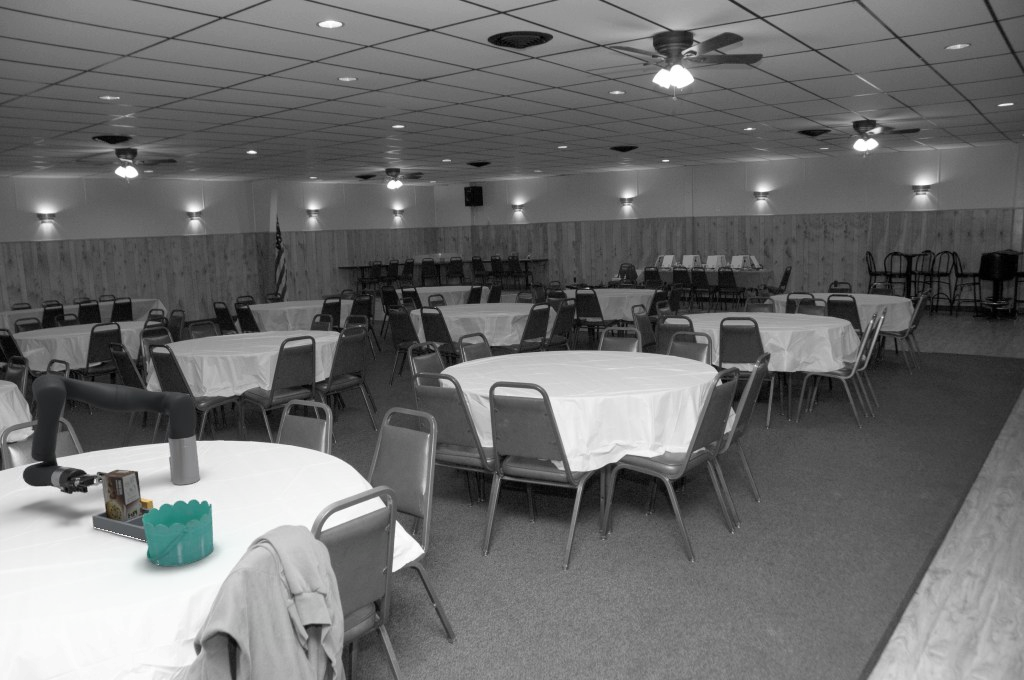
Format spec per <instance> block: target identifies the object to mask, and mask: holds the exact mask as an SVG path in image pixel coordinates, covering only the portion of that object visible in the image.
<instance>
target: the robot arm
mask: <svg viewBox="0 0 1024 680" xmlns="http://www.w3.org/2000/svg"><path fill="white" fill-rule="evenodd" d="M31 388H32V394H33V398H34V400H35V401H36V409H37V422H36V426H35V429H34V432H33V436H32V441H31V450H30V451H31V452H30V453H31V458H32V460H34V461H36V462H38V463H35V464H34V463H33V464H31V465H29V466H26V468H25V469H24V470H23V472H22V480H23V481H24V482H25V483H26V484H28V485H29V486H30V487H37V488H38V487H52V488H53V487H54V488H56V489H59V490H60V492H61V493H65V494H68V495H72V494H73V493H83V494H86V493H88V491H89V490H88V488H89V487H93V486H94V487H95V486H96V487H97V486H99V485H102V479H101V476H102V475H105V474H107V473H108V472H102V471H97V472H96V474H88V473H87V472H86V471H85V470H84V469H81V468H76V467H70V466H62V465H59V464H58V461H57V455H56V451H57V440H58V429H59V422H60V418H61V415H62V411H63V408H64V405H65V403H66V402H65V401H66V399H67V400H68V399H69V400H75V401H79V402H83V403H84V404H88V405H90V406H93V407H94V408H97V409H99V410H103V411H109V412H119V413H136V412H153V413H157V414H162V415H166V416H168V417H169V425H170V426H169V429H168V430H167V435H168V436H167V437H168V445H169V455H170V456H169V458H168V460H169V467H170V468H169V469H170V479H171V483H173V484H174V485H178V486H179V485H181V486H183V485H190V484H195V483H196V482H199V481H200V479H201V476H200V466H199V456H198V445H197V435H196V428H197V416H196V415H197V413H196V412H197V411H196V405H195V401H194V399H193V398H192V397H191V396H190V395H188V394H186V393H183V392H180V391H152V390H148V389H147V390H146V389H143V388H138V387H134V386H127V385H122V384H115V383H114V384H113V383H105V382H98V381H97V382H96V381H88V380H83V379H81V380H80V379H76V378H71V377H66V376H62V375H58V374H52V373H51V374H48V373H47V374H42V375H38V376H37V377H36V378H35V379H34V380H33V382H32V385H31Z"/></svg>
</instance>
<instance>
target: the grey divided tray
mask: <svg viewBox="0 0 1024 680" xmlns="http://www.w3.org/2000/svg"><path fill="white" fill-rule="evenodd" d="M141 503H142V512H143V515H144V514H145V513H146V514H148V515H149V511H150V510H151V509H152V508H154V502H153V500H152V499H148V498H143V497H141ZM169 504H170V503H169ZM170 505H171V506H173V505H174V504H170ZM143 515H142V516H139V517H136V518H134V519H131V520H128V521H126V522H121V521H117V520H113V519H109V518H107V516H106V510H105V511H103V512H99V513H97V514H94V515H92V516H91V517H92V519H91V520H92V523H93V524H92V526H93V528H94V527H96V528H100V529H104V530H108V531H112V532H115V533H119V534H123V535H127V536H131V537H134V538H138V539H141V540H145V541H147V539H146V536H145V530H144V527H143V521H142V519H143Z"/></svg>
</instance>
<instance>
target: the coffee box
mask: <svg viewBox="0 0 1024 680" xmlns="http://www.w3.org/2000/svg"><path fill="white" fill-rule="evenodd" d="M106 473H107V474H105V475H102V476H101V479H102V484H101V485H102V486H101V487H102V491H103V492H102V493H103V499H104V500H103V501H104V507H105V511H106V516H107V518H109V519H113V520H117V521H121V522H126V521H128V520H131V519H134V518H136V517H139V516H142V515H143V512H142V503H141V498H142V497H141V496H142V495H141V488H140V487H141V486H140V480H139V471H138V470H129V469H126V470H124V469H115V470H112V471H110V472H106Z"/></svg>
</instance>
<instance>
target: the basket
mask: <svg viewBox="0 0 1024 680" xmlns="http://www.w3.org/2000/svg"><path fill="white" fill-rule="evenodd" d="M171 505H173V506H171ZM171 505H170V503H163V504H161V505H160V507H159V508H156V507H153V508H152V509H151V510H150V511H149V515H148V514H146V513H145V514H144V515H143V519H142V521H143V527H144V530H145V536H146V539H147V542H146V543H147V550H146V557H147V559H148V560H150V562H151V561H152V562H153V563H152V562H151V563H152V564H154V563H155V564H154V565H156V564H159V565H158V566H160V565H166V566H165V567H175V565H176V566H183V565H187V564H190V563H193V562H194V563H195V562H197V561H200V560H202V559H204V558H206V557H207V556H209V555H210V554H211V553H212V552H213V550H214V530H213V529H214V528H213V508H212V507H213V505H212V503H209V502H208V501H207V500H202V501H201V502H199V501H198V500H197V499H190V500H189V501H188V503H187V502H186V501H184V500H176V501H175V502H174V503H173V504H171Z"/></svg>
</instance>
